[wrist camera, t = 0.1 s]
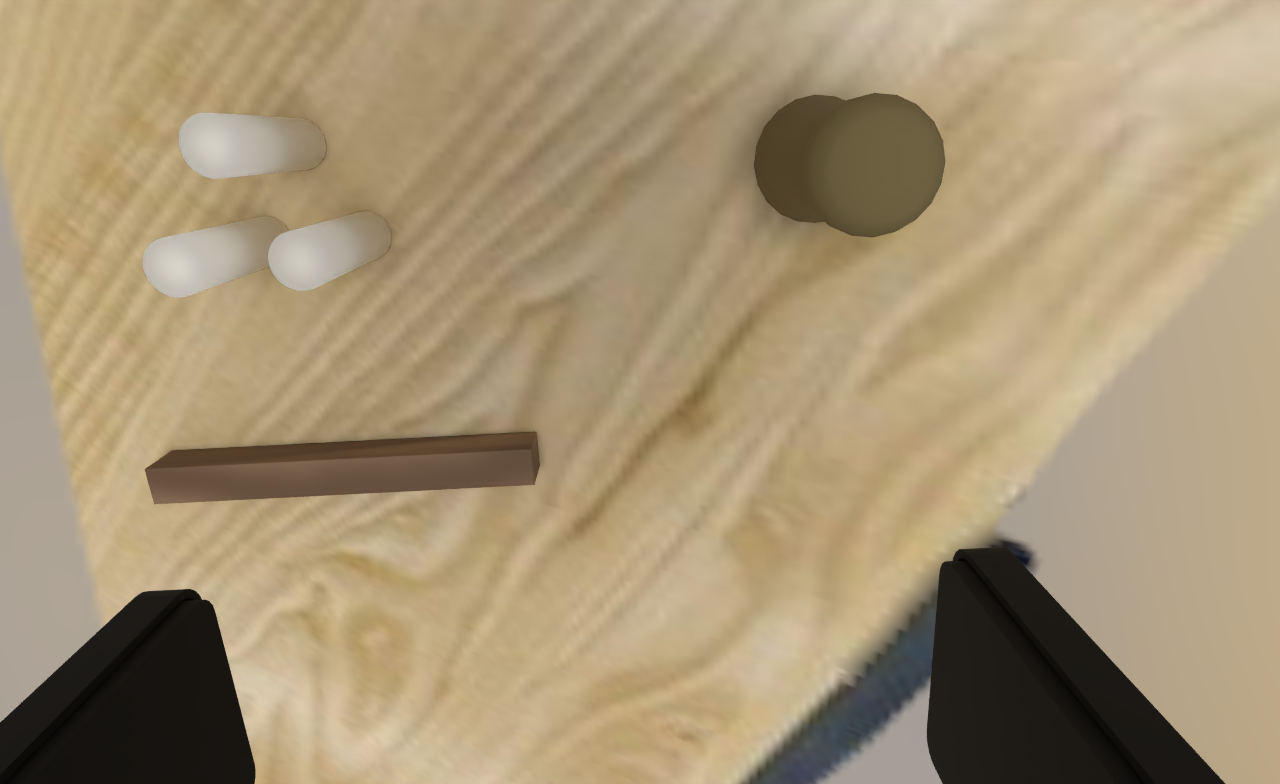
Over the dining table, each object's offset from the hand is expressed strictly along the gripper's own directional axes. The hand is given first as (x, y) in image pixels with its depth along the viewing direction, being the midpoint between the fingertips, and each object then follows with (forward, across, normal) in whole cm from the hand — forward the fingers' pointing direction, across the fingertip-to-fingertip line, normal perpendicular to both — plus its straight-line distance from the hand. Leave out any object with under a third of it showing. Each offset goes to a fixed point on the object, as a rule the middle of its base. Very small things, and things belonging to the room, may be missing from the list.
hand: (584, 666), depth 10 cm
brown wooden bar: (+31, +15, +10) cm, 36 cm away
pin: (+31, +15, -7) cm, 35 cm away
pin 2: (+31, +12, -2) cm, 34 cm away
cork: (+31, -10, -5) cm, 33 cm away
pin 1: (+31, +18, -2) cm, 36 cm away
